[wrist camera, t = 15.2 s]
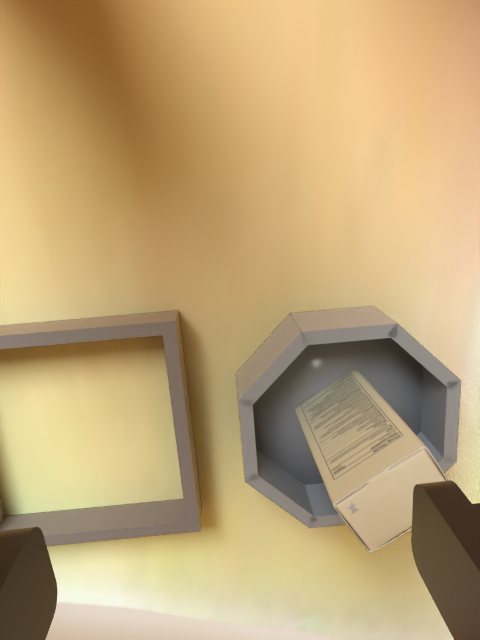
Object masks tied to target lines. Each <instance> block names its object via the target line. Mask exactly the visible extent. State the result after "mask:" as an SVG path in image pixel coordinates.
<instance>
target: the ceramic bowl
mask: <svg viewBox="0 0 480 640" xmlns="http://www.w3.org/2000/svg"><path fill="white" fill-rule="evenodd" d="M354 369H357V370H359V371H360V373H361V374H362V375H363V376H364V377H365V378H366V379H367V380H368V381H369V382H370V384H371V385H372V386H373V387H374V388H375V389H376V391H377V392H378V393H379V394H380V395H381V396H382V397H383V398H384V399H385V401H386V402H387V403H388V404H389V405H390V406H391V407H392V409H393V410H394V411H395V412H396V413H397V414H398V415H399V416H400V418H401V419H402V420H403V421H404V422H405V423H406V424H407V425H408V427H409V428H410V429H411V430H412V431H413V432H414V433H415V434H416V436H417V437H418V438H419V439H420V440H421V441H422V442H423V443H424V444H425V446H426V447H427V448H428V449H429V451H430V452H431V454H432V455H433V457H434V458H435V460H436V461H437V463H438V464H439V466H440V468H441V469H442V471H443V472H444V473H445V472H446V471H447V470H448V469H449V468H450V467H451V466H452V465H453V464H454V463H456V460H457V443H458V426H459V409H460V393H461V380H460V379H459V378H458V377H457V376H456V375H454V374H453V373H452V372H451V371H450V370H449V369H448V368H447V367H446V366H444V365H443V364H442V363H441V362H440V361H439V360H438V359H437V358H436V357H434V356H433V355H432V354H431V353H430V352H429V351H428V350H427V349H426V348H424V347H423V346H422V345H421V344H420V343H419V342H418V341H417V340H415V339H414V338H413V337H412V336H411V335H410V334H409V333H408V332H407V331H405V330H404V329H403V328H402V327H401V326H400V325H399V324H398V323H396V322H395V321H394V320H392V319H391V318H389V317H388V316H387V315H385V314H384V313H383V312H381V311H380V310H378V309H377V308H376V307H374V306H368V307H356V308H344V309H333V310H321V311H310V312H298V313H290V314H289V315H288V316H287V317H286V318H285V320H284V321H283V322H282V323H281V324H280V325H279V326H278V327H277V328H276V330H275V331H274V332H273V333H272V334H271V335H270V336H269V337H268V338H267V339H266V341H265V342H264V343H263V344H262V345H261V346H260V347H259V348H258V349H257V351H256V352H255V353H254V354H253V355H252V356H251V357H250V358H249V359H248V361H247V362H246V363H245V364H244V365H243V366H242V367H241V368H240V369H239V371H238V372H237V373H236V384H237V396H238V407H239V419H240V431H241V442H242V453H243V464H244V475H245V482H246V483H248V484H249V485H250V486H252V487H253V488H255V489H256V490H257V491H259V492H260V493H262V494H263V495H264V496H266V497H267V498H268V499H270V500H271V501H273V502H274V503H275V504H277V505H278V506H280V507H281V508H282V509H284V510H285V511H287V512H288V513H289V514H291V515H292V516H293V517H295V518H296V519H298V520H299V521H300V522H302V523H303V524H305V525H306V526H307V527H309V528H316V527H327V526H337V525H347V524H346V523H345V521H344V520H343V519H342V517H341V516H340V515H339V513H338V512H337V510H336V509H335V508H334V506H333V504H332V502H331V499H330V497H329V494H328V492H327V489H326V487H325V484H324V482H323V479H322V477H321V474H320V472H319V469H318V467H317V465H316V462H315V460H314V457H313V455H312V452H311V450H310V448H309V445H308V443H307V440H306V438H305V435H304V433H303V430H302V428H301V425H300V423H299V420H298V418H297V415H296V413H295V409H296V408H297V407H299V406H300V405H302V404H303V403H304V402H306V401H307V400H309V399H310V398H312V397H313V396H314V395H316V394H317V393H319V392H320V391H322V390H323V389H325V388H326V387H328V386H329V385H331V384H332V383H334V382H335V381H337V380H338V379H340V378H341V377H343V376H344V375H346V374H348V373H349V372H351V371H352V370H354Z"/></svg>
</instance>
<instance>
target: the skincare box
mask: <svg viewBox="0 0 480 640" xmlns="http://www.w3.org/2000/svg"><path fill="white" fill-rule="evenodd" d="M295 413H296V415H297V418H298V420H299V423H300V425H301V428H302V430H303V433H304V435H305V438H306V440H307V443H308V445H309V448H310V450H311V452H312V455H313V457H314V460H315V462H316V465H317V467H318V469H319V472H320V474H321V477H322V479H323V482H324V484H325V487H326V489H327V492H328V494H329V497H330V499H331V502H332V504H333V506H334V508H335V509H336V510H337V512H338V513H339V515H340V516H341V517H342V519H343V520H344V521H345V523H346V524H347V526H348V527H349V528H350V530H351V531H352V532H353V533H354V535H355V536H356V537H357V538H358V540H359V541H360V542H361V543H362V545H363V546H364V547H365V548H366V549H367V550H368V551H369V552H370V553H372V552H374V551H376V550H378V549H380V548H382V547H383V546H385V545H387V544H388V543H390V542H392V541H394V540H395V539H397V538H399V537H400V536H402V535H403V534H405V533H407V532H408V531H410V530H411V529H412V508H413V489H414V486H415V485H416V484H423V483H432V482H441V481H448V479H447V477H446V476H445V474H444V472H443V471H442V469H441V468H440V466H439V464H438V463H437V461H436V460H435V458H434V457H433V455H432V454H431V452H430V451H429V449H428V448H427V447H426V446H425V444H424V443H423V442H422V441H421V440H420V439H419V438H418V437H417V436H416V434H415V433H414V432H413V431H412V430H411V429H410V428H409V427H408V425H407V424H406V423H405V422H404V421H403V420H402V419H401V418H400V416H399V415H398V414H397V413H396V412H395V411H394V410H393V409H392V407H391V406H390V405H389V404H388V403H387V402H386V401H385V399H384V398H383V397H382V396H381V395H380V394H379V393H378V392H377V391H376V389H375V388H374V387H373V386H372V385H371V384H370V382H369V381H368V380H367V379H366V378H365V377H364V376H363V375H362V374H361V373H360V371H359V370H357V369H354V370H352V371H351V372H349V373H348V374H346V375H344V376H343V377H341V378H340V379H338V380H337V381H335V382H334V383H332V384H331V385H329V386H328V387H326V388H325V389H323V390H322V391H320V392H319V393H317V394H316V395H314V396H313V397H312V398H310V399H309V400H307V401H306V402H304V403H303V404H302V405H300V406H299V407H297V408H296V409H295Z"/></svg>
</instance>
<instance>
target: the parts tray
mask: <svg viewBox="0 0 480 640" xmlns="http://www.w3.org/2000/svg"><path fill="white" fill-rule="evenodd" d="M160 335H163V342H164V350H165V358H166V365H167V373H168V381H169V389H170V396H171V404H172V412H173V420H174V427H175V435H176V443H177V451H178V458H179V466H180V474H181V481H182V489H183V497H184V499H178V500H167V501H157V502H146V503H136V504H125V505H115V506H104V507H94V508H83V509H73V510H62V511H52V512H41V513H31V514H20V515H10V516H5V513H4V509H3V505H2V501H1V498H0V531H4V530H12V529H21V528H30V527H39V528H40V529H41V530H42V532H43V535H44V539H45V542H46V546H53V545H64V544H74V543H84V542H95V541H105V540H115V539H126V538H136V537H146V536H157V535H167V534H177V533H188V532H198V531H200V527H201V508H202V506H201V498H200V489H199V481H198V472H197V464H196V455H195V447H194V438H193V430H192V421H191V413H190V404H189V396H188V387H187V378H186V370H185V361H184V353H183V344H182V336H181V327H180V319H179V310H177V311H165V312H153V313H142V314H130V315H118V316H106V317H95V318H83V319H71V320H60V321H48V322H36V323H25V324H13V325H1V326H0V349H10V348H22V347H33V346H45V345H57V344H68V343H80V342H91V341H103V340H114V339H126V338H137V337H149V336H160Z"/></svg>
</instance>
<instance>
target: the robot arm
mask: <svg viewBox="0 0 480 640" xmlns="http://www.w3.org/2000/svg"><path fill="white" fill-rule="evenodd" d="M411 542H412V551H413V555H414V559H415V563H416V566H417V568H418V571H419V573H420V575H421V577H422V579H423V581H424V583H425V585H426V586H427V588H428V590H429V592H430V594H431V596H432V598H433V600H434V602H435V604H436V606H437V608H438V609H439V611H440V613H441V615H442V617H443V619H444V621H445V623H446V625H447V627H448V629H449V631H450V632H451V634H452V636H453V638H454V640H480V503H478V504H472V503H471V502H470V501H469V500H468V498H467V497H466V496H465V495H464V493H463V492H462V491H461V490H460V488H459V487H458V486H457V485H456V484H455V483H454V482H453V481H441V482H432V483H423V484H416V485H415V486H414V489H413V508H412V538H411ZM56 603H57V583H56V579H55V575H54V572H53V568H52V564H51V561H50V557H49V553H48V550H47V546H46V542H45V539H44V535H43V532H42V530H41V529H40V528H39V527H30V528H21V529H12V530H4V531H0V640H45V639H46V636H47V633H48V631H49V628H50V625H51V622H52V620H53V617H54V613H55V609H56Z"/></svg>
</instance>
